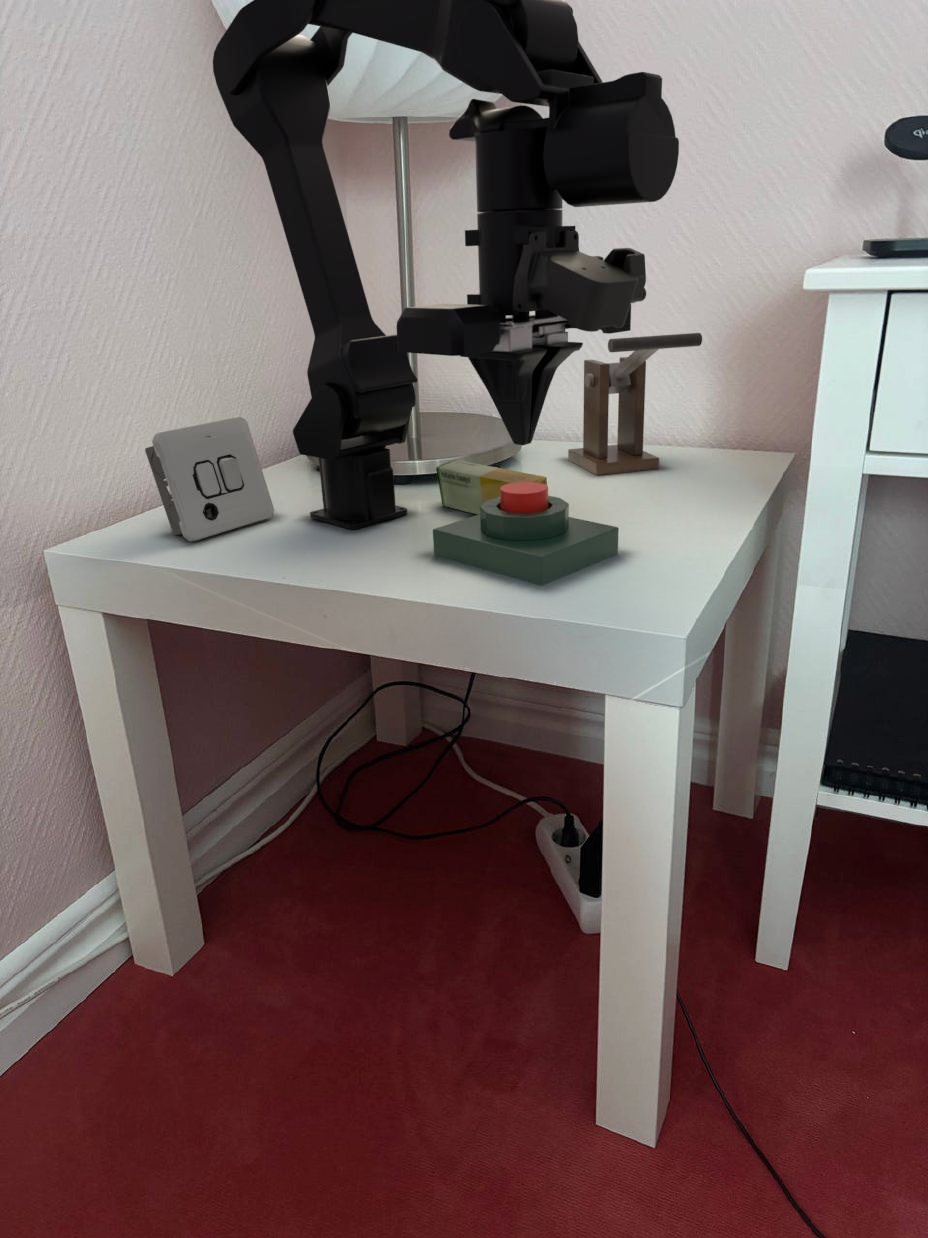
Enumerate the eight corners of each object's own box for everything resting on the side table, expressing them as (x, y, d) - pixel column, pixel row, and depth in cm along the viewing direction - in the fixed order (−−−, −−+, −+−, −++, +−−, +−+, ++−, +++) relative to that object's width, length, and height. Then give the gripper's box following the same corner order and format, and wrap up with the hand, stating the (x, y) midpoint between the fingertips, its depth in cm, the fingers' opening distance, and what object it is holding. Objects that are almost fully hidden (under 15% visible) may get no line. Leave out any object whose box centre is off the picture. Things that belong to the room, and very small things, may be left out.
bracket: (659, 468, 94) (663, 362, 90) (596, 475, 93) (598, 366, 89) (626, 454, 102) (629, 354, 97) (568, 460, 100) (568, 358, 96)
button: (490, 511, 68) (490, 488, 68) (522, 501, 71) (521, 479, 70) (526, 519, 66) (526, 496, 65) (558, 508, 68) (558, 486, 68)
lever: (704, 349, 84) (700, 324, 85) (614, 356, 82) (610, 330, 82) (650, 390, 96) (646, 368, 96) (570, 397, 94) (567, 374, 94)
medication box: (439, 508, 84) (433, 466, 82) (461, 499, 85) (455, 457, 84) (531, 530, 75) (526, 483, 74) (553, 520, 77) (549, 474, 75)
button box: (433, 556, 71) (430, 506, 69) (511, 529, 76) (510, 482, 75) (541, 586, 63) (541, 531, 62) (618, 554, 69) (619, 503, 68)
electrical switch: (191, 545, 76) (166, 433, 73) (156, 541, 79) (132, 434, 76) (277, 518, 82) (258, 415, 80) (242, 516, 86) (223, 416, 83)
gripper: (516, 204, 49) (520, 485, 55) (700, 204, 61) (687, 435, 67) (383, 214, 57) (399, 461, 63) (570, 213, 69) (569, 420, 75)
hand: (522, 444), depth 67 cm, fingers closed
